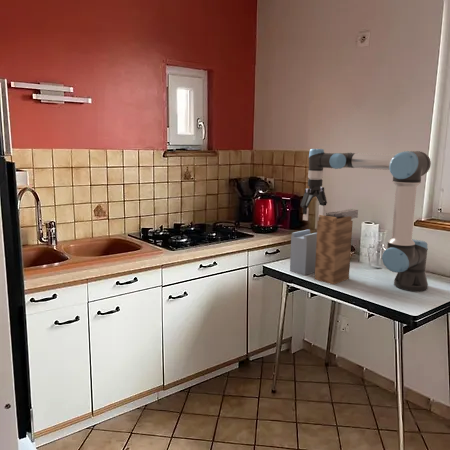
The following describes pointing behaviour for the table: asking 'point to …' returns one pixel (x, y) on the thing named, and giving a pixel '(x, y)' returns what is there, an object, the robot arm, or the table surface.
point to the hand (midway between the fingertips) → (313, 218)
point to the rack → (303, 252)
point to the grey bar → (344, 213)
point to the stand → (333, 249)
